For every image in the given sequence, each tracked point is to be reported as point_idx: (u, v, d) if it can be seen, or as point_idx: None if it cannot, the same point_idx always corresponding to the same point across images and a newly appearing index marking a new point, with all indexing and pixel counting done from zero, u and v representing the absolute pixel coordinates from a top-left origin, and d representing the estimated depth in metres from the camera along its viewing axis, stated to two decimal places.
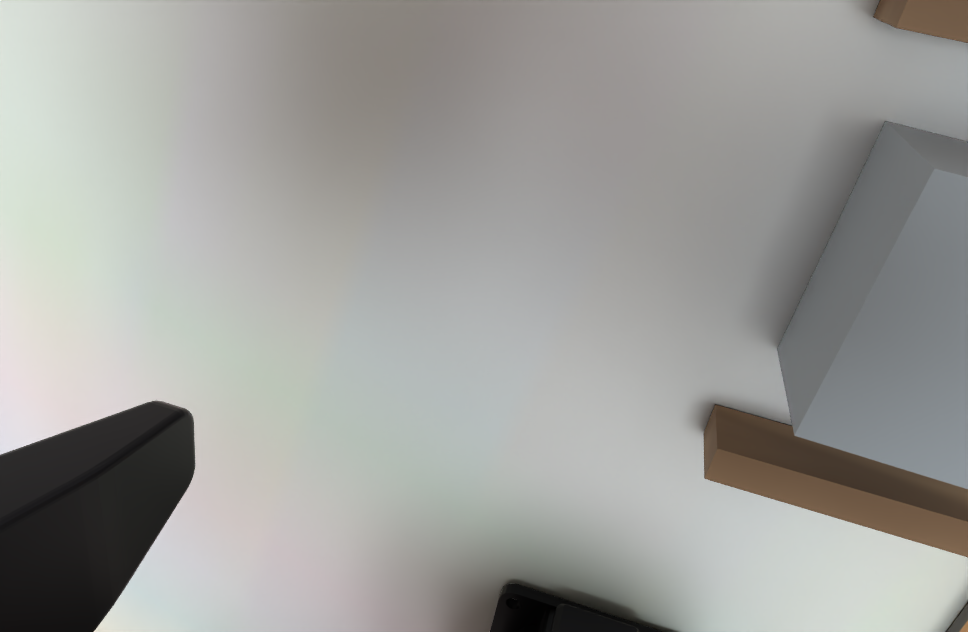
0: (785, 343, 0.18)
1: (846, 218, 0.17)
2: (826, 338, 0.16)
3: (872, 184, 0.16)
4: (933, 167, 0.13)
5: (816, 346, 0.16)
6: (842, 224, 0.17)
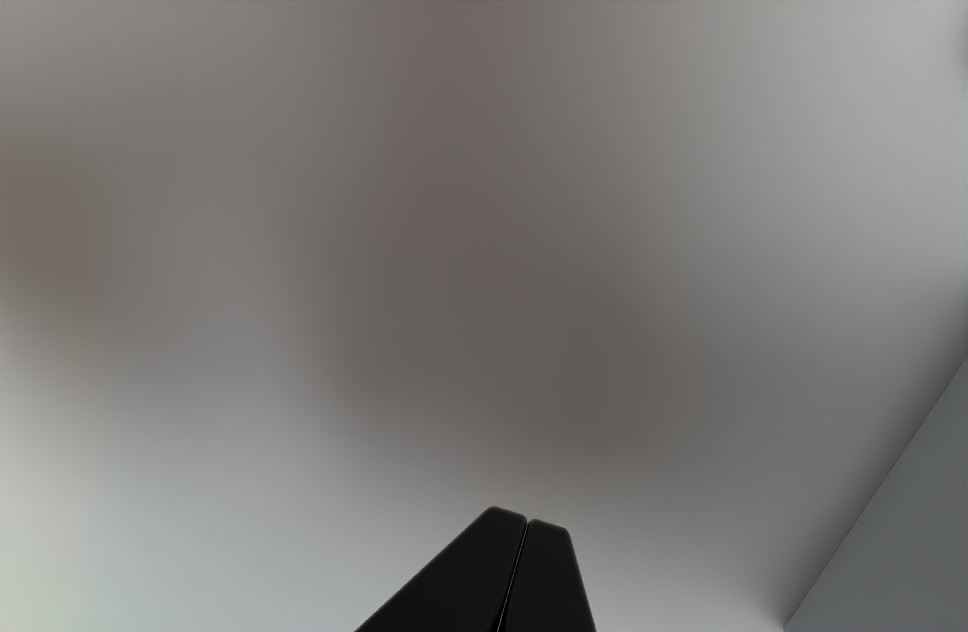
0: None
1: (929, 456, 0.09)
2: None
3: None
4: None
5: None
6: (918, 463, 0.09)
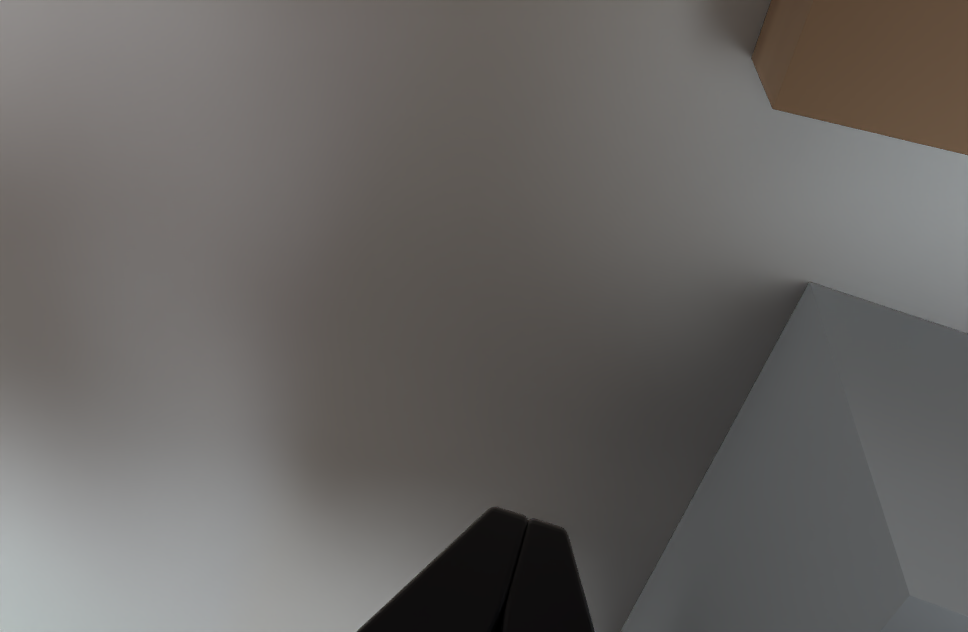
0: None
1: (720, 478, 0.08)
2: None
3: (769, 444, 0.07)
4: (907, 582, 0.04)
5: None
6: (713, 485, 0.08)
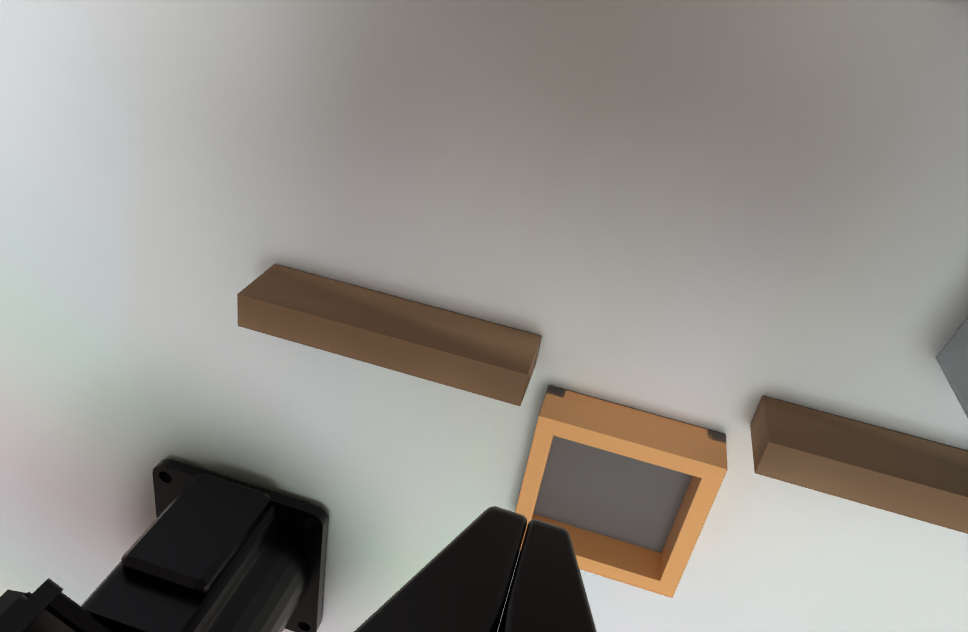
0: (951, 352, 0.17)
1: None
2: None
3: None
4: None
5: None
6: None
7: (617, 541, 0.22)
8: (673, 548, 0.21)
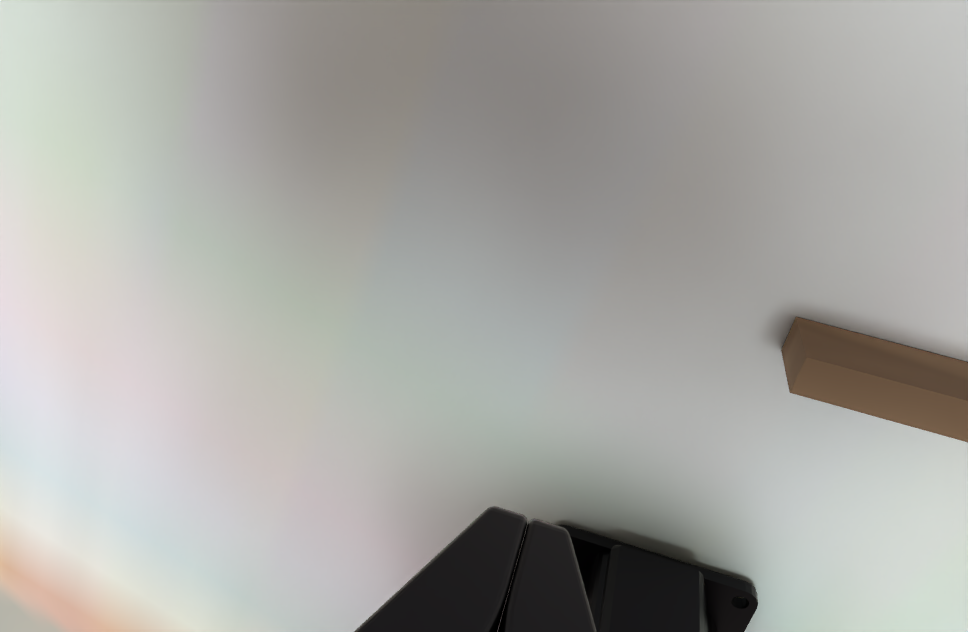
0: None
1: None
2: None
3: None
4: None
5: None
6: None
7: None
8: None
